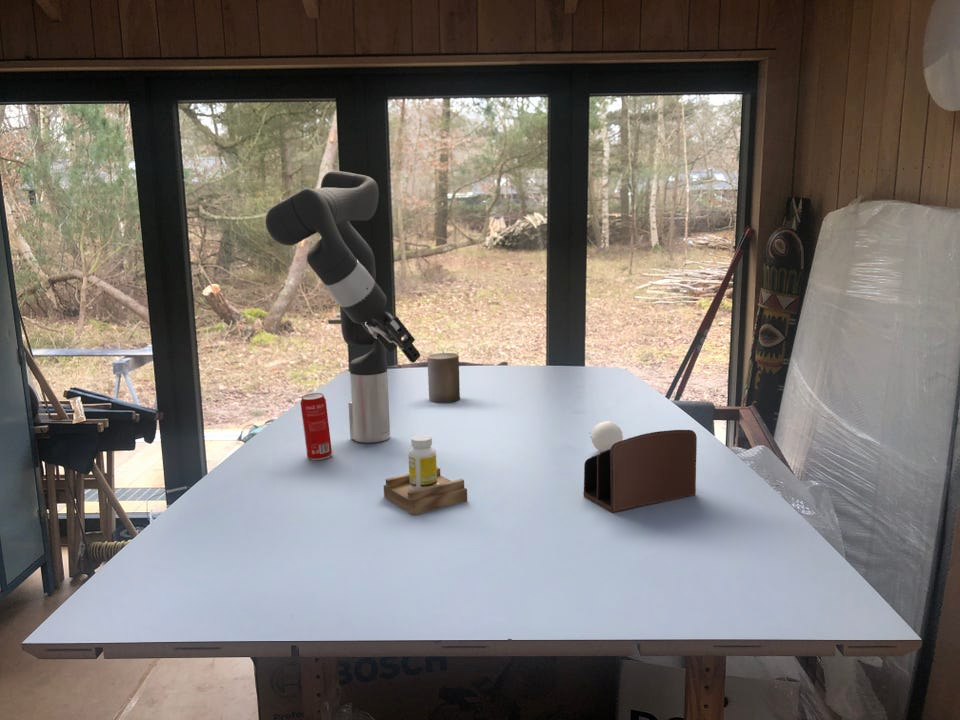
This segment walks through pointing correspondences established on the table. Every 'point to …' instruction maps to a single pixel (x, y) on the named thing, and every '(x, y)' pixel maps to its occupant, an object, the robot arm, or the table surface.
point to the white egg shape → (606, 435)
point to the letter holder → (643, 471)
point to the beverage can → (316, 426)
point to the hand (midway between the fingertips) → (404, 353)
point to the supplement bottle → (422, 463)
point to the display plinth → (424, 494)
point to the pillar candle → (443, 377)
